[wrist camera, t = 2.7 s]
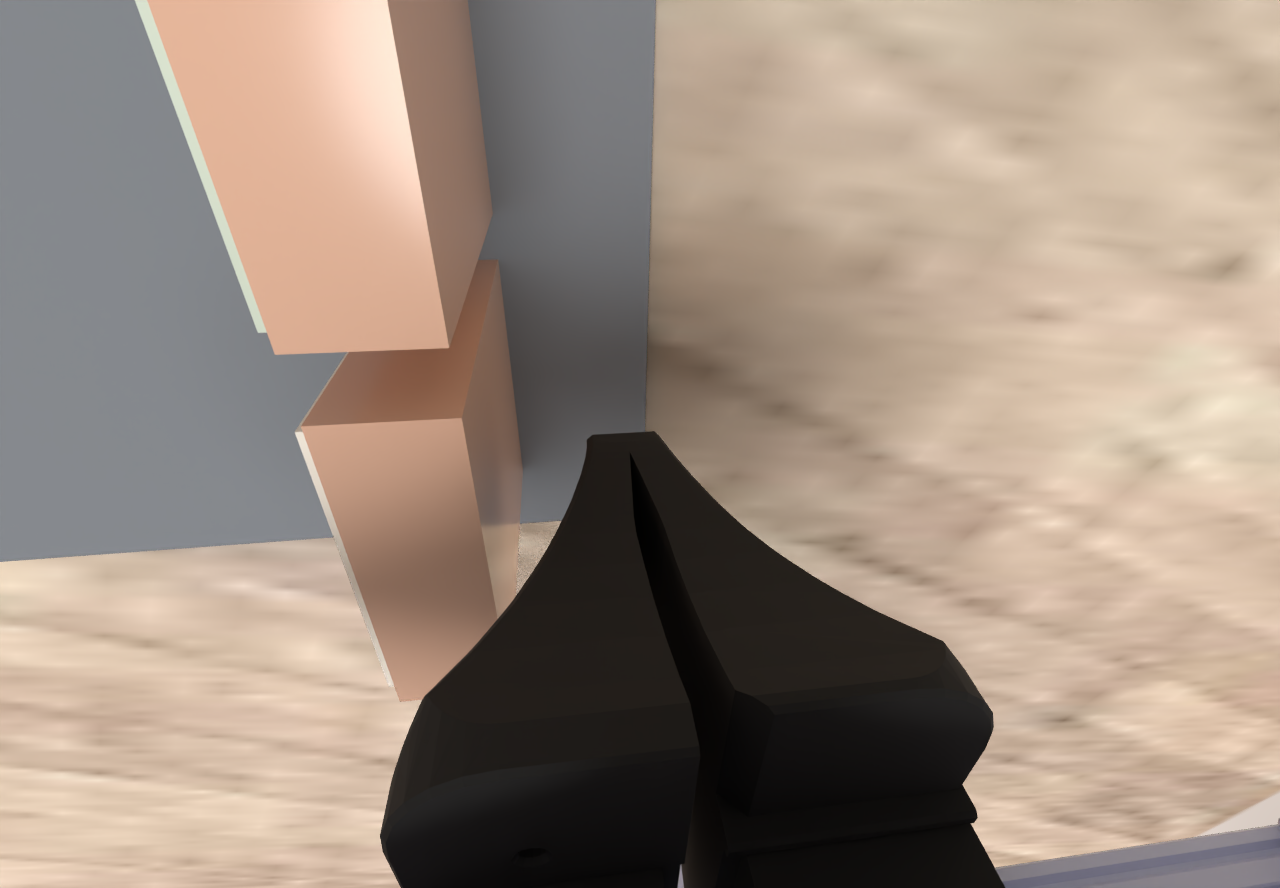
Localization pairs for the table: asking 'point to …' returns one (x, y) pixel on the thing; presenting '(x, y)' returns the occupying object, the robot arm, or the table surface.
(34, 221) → the slate mat
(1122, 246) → the table surface
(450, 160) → the tile
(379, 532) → the tile
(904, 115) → the table surface
